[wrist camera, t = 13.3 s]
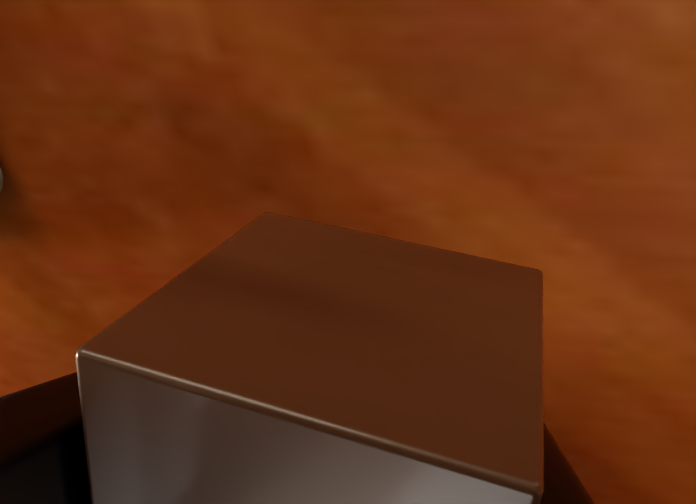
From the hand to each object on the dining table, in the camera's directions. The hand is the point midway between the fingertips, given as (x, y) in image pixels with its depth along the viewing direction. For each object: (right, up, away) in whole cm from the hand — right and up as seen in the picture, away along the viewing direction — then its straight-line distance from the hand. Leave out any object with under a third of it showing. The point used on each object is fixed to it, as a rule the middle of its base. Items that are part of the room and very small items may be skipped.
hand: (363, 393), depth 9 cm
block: (0, 0, +1) cm, 1 cm away
